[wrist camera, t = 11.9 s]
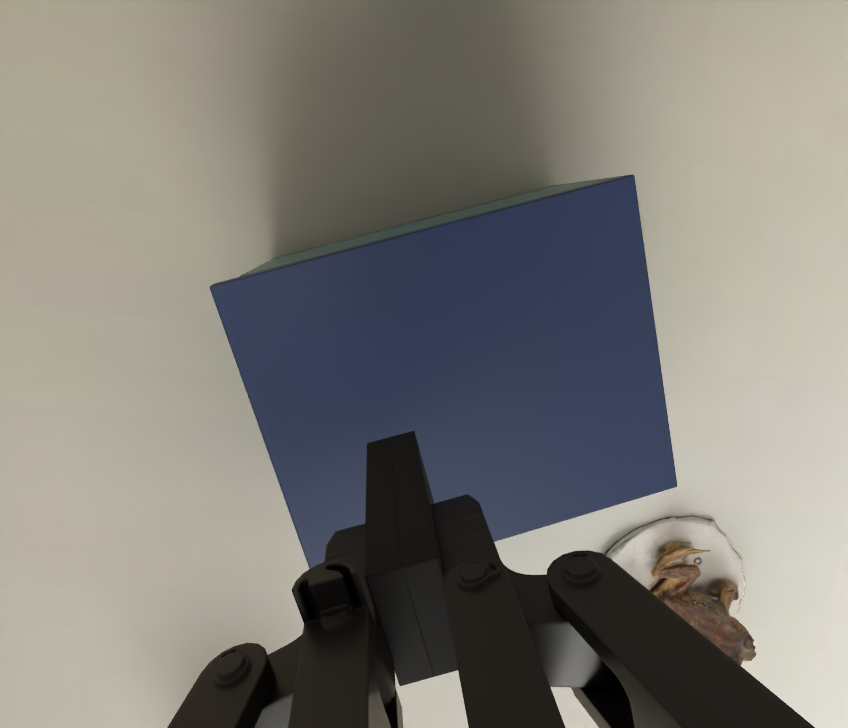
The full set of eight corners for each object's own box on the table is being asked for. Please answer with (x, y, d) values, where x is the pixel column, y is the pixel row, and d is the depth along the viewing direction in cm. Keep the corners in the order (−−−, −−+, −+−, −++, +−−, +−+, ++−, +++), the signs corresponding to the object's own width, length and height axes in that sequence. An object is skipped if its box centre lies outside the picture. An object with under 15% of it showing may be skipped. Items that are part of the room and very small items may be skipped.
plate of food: (781, 554, 39) (825, 590, 35) (681, 688, 41) (713, 735, 37) (647, 487, 36) (679, 518, 33) (549, 633, 38) (569, 677, 35)
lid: (319, 583, 25) (318, 595, 24) (213, 283, 21) (208, 286, 21) (668, 479, 26) (678, 487, 25) (625, 175, 22) (634, 173, 22)
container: (344, 482, 34) (337, 570, 26) (272, 258, 30) (237, 276, 22) (593, 413, 35) (668, 478, 26) (553, 185, 31) (624, 175, 22)
